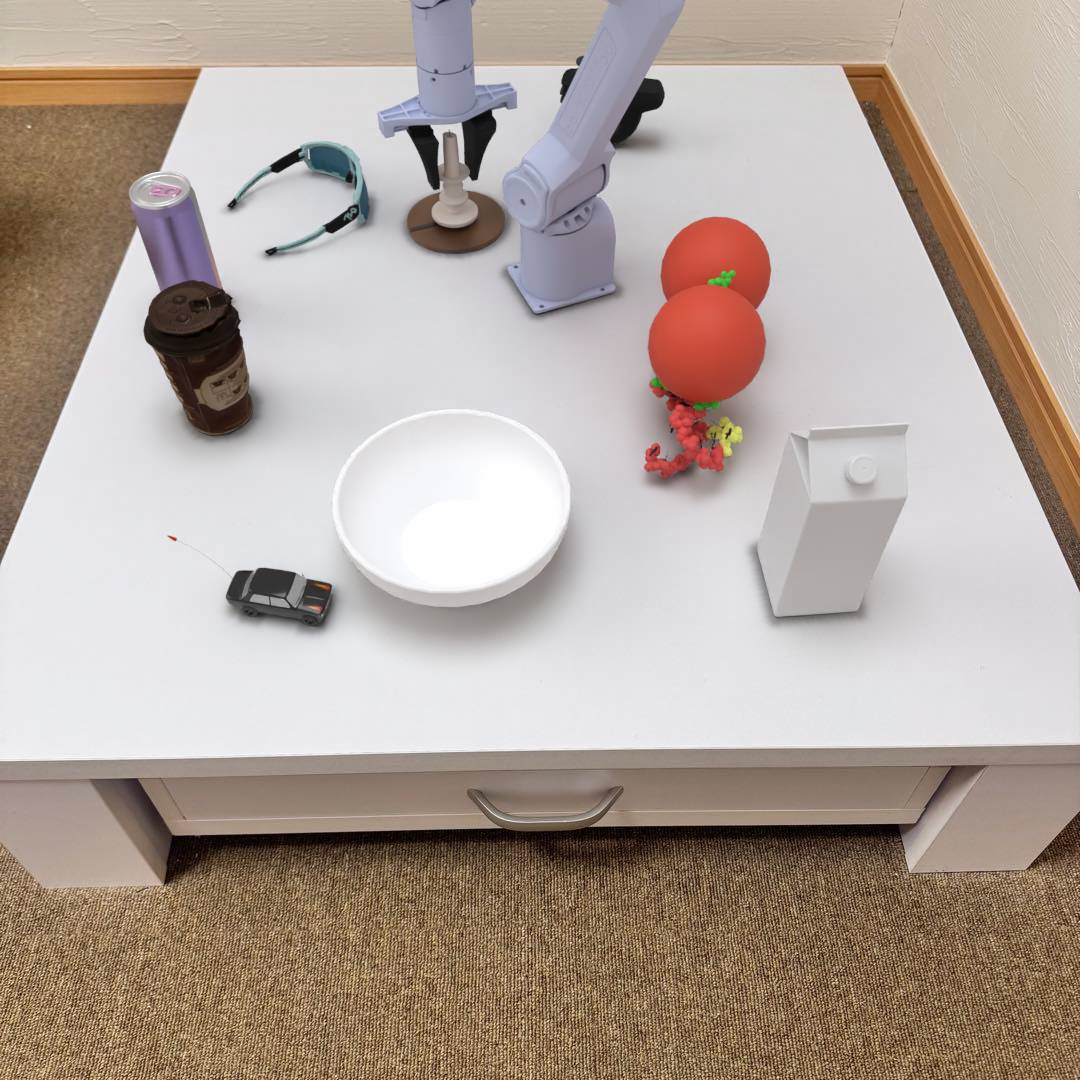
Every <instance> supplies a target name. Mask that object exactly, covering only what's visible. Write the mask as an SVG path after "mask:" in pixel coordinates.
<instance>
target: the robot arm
mask: <svg viewBox="0 0 1080 1080" xmlns="http://www.w3.org/2000/svg"><path fill="white" fill-rule="evenodd" d="M409 2H410V10H411V23H412V31H413V32H412V33H413V40H414V41H413V44H414V54H415V55H414V56H415V63H416V64H415V65H416V73H417V74H416V75H417V77H416V78H417V87H418V94H417V95H415V96H412V97H410V98H408V99H406V100H403V101H402V102H399V103H398V104H395V105H394V106H391V107H388V108H385V109H382V110H378V111H377V112H376V113H377V114H376V115H377V121H378V129H379V131H380V133H381V134H382V136H383V138H384V139H389V138H394V137H395V135H396V134H395V133H398V132H404V131H406V133H407V134H408V136H409V138H410V139H411V141H412V143H413V145H414V146H415V149H416V151H417V153H418V155H419V158H420V160H421V162H422V166H423V167H424V168H423V169H424V172H425V175H426V180H427V182H428V184H429V185H430V187H431V189H432V190H433V191H438V190H440V189H441V181H440V178H439V170H438V166H439V147H440V141H439V140H438V139H437V137H436V134H435V133H434V129H433V128H432V126H440V125H441V126H443V125H444V126H446V125H456V124H461V129H462V135H463V137H462V138H463V159H464V160H463V161H464V163H463V164H465V165H467V167H468V168H469V170H470V175H469V177H468V178H470V180H471V181H472V182H474V181H475V182H476V181H478V180H479V176H480V175H479V174H480V171H481V165H482V162H483V158H484V155H485V152H486V150H487V148H488V146H489V143H490V142H491V140H492V138H493V137H494V135H495V133H496V132H497V126H498V125H497V124H498V123H497V120H496V118H495V117H494V115H493V111H495V110H500V109H503V108H505V109H506V110H508V111H510V110H516V109H518V91H517V89H516V88H515V87H514V85H513V84H512V83H511V82H510V81H507V82H503V83H493V84H489V83H488V84H476V78H475V77H476V76H475V58H474V36H473V16H472V15H473V14H472V8H473V6H474V5H475V3H476V2H477V0H409ZM603 2H607V3H608V5H607V7H606V9H605V11H604V14H603V16H602V17H601V20H600V22H599V24H598V26H597V28H596V30H595V33H594V34H593V36H592V38H591V40H590V43H589V45H588V47H587V48H586V50H585V54H584V55H583V56H584V58H583V60H582V62H581V64H580V66H578V67H579V68H578V67H577V68H578V70H577V72H576V74H575V76H574V78H573V81H572V83H571V85H570V87H569V89H568V91H567V93H566V95H565V97H564V99H563V102H562V103H560V106H559V108H558V110H557V112H556V114H555V116H554V118H553V120H552V123H551V124H550V127H549V128H548V131H547V132H546V133H545V134H544V135H543V136H542V137H541V138H540V139H539V140H538V141H537V142H536V143H535V144H534V145H533V146H532V147H531V148H530V149H529V150H528V151H527V152H526V153H525V154H524V156H523V157H522V159H521V161H520V162H519V164H518V165H517V166H515V167H514V168H511V169H509V170H508V171H506V173H505V174H504V176H503V179H502V186H501V187H502V196H503V201H504V204H505V207H506V208H507V212H509V214H510V216H511V217H512V218H513V219H514V220H515V221H516V222H517V224H519V239H520V244H519V246H520V262H518V263H515V264H511V265H509V266H507V269H506V271H507V273H508V275H509V277H510V278H511V279H512V281H513V283H514V285H515V286H516V288H517V289H518V291H519V292H520V294H521V295H522V297H523V298H524V299H525V302H526V303H527V304H528V306H529V308H530V309H531V311H532V312H533V313H534V314H536V315H537V314H542V313H545V312H546V313H547V312H549V311H553V310H556V309H560V308H563V307H566V306H570V305H573V304H577V303H581V302H585V301H588V300H591V299H594V298H599V297H603V296H605V295H606V296H607V295H609V294H614V293H615V292H616V290H617V289H616V288H617V287H616V285H615V284H614V273H615V272H614V271H615V257H616V243H617V235H616V234H617V233H616V227H615V221H614V218H613V217H614V216H613V214H612V211H611V210H610V208H609V206H608V204H607V202H605V200H604V199H603V198H601V197H599V196H598V195H599V194H600V193H602V192H603V191H604V190H606V188H607V186H608V185H609V182H610V176H611V175H610V173H611V171H610V169H611V163H612V160H613V158H614V157H615V155H616V149H615V147H614V146H613V145H614V144H613V145H612V143H611V142H610V138H611V137H612V135H613V133H614V131H615V130H616V128H617V126H618V124H619V122H620V121H621V119H622V117H623V115H624V113H625V112H626V110H627V108H628V106H629V105H630V103H631V101H632V99H633V97H634V96H635V94H636V92H637V90H638V89H639V87H640V85H641V83H642V81H643V80H644V78H646V76H647V75H648V73H649V71H650V69H651V67H652V65H653V64H654V62H655V60H656V58H657V56H658V55H659V53H660V52H661V49H662V48H663V46H664V44H665V43H666V40H667V38H669V37H668V36H669V34H670V33H671V32H672V30H673V28H674V26H675V24H676V23H677V21H678V19H679V17H680V16H681V14H682V12H683V9H684V7H685V3H686V0H603Z"/></svg>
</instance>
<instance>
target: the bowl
mask: <svg viewBox="0 0 1080 1080" xmlns="http://www.w3.org/2000/svg"><path fill="white" fill-rule="evenodd" d="M568 474H569V473H568V471H567V468H566V467H565V464H564V463H563V461H562V459H561V457H560V456H559V454H558V453H557V451H556V450H554V448H553V447H552V446H551V445H550V443H549V442H548V441H547V440H546V439H545V438H544V437H542V436H540V435H539V434H538V433H537V432H535V431H534V430H532V429H531V428H530V427H529V426H526V425H524V424H522V423H520V422H518V421H517V420H514V419H512V418H510V417H506V416H502V415H500V414H497V413H493V412H489V411H483V410H477V409H472V408H470V409H469V408H445V409H438V410H430V411H429V410H428V411H425V412H421V413H418V414H414V415H411V416H406V417H404V418H402V419H399V420H397V421H395V422H393V423H390V424H388V425H386V426H384V427H383V428H381V429H379V430H378V431H377V432H375V433H374V434H372V435H370V436H369V437H367V438H366V439H365V440H364V441H363V442H362V443H361V444H360V445H359V446H358V447H357V448H356V449H355V450H353V451H352V453H351V454H350V456H349V457H348V458H347V460H346V461H345V462H344V464H343V466H341V469H340V471H339V473H338V476H337V478H336V481H335V483H334V486H333V492H332V499H331V510H332V521H333V524H334V526H335V530H336V532H337V536H338V538H339V541H340V543H341V546H342V549H343V550H344V551H345V553H346V555H347V556H348V557H349V558H350V560H351V562H352V564H353V565H354V566H355V567H356V568H357V570H358V571H359V572H360V573H361V574H362V575H363V576H364V577H365V578H367V580H368V581H370V582H371V583H372V584H373V585H374V586H376V587H378V588H380V589H381V590H383V591H385V592H386V593H387V594H390V595H391V596H393V597H396V598H399V599H402V600H404V601H407V602H410V603H412V604H419V605H423V606H429V607H434V608H461V607H467V606H475V605H482V604H484V603H488V602H490V601H494V600H497V599H499V598H503V597H505V596H507V595H509V594H511V593H513V592H515V591H517V590H518V589H520V588H522V587H524V586H526V584H527V583H529V582H530V581H532V580H533V579H534V578H535V577H537V576H538V575H539V574H540V573H541V572H542V571H543V570H544V569H545V567H547V565H548V564H549V563H550V562H551V560H552V559H553V557H555V556H554V555H555V554H556V552H557V550H558V548H559V546H560V545H561V543H562V540H563V539H564V537H565V534H566V532H567V528H568V524H569V520H570V515H571V511H572V485H571V482H570V478H569V475H568Z"/></svg>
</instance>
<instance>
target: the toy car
mask: <svg viewBox="0 0 1080 1080" xmlns="http://www.w3.org/2000/svg"><path fill="white" fill-rule="evenodd" d="M167 537H168V539H170V540H171V541H173V542H178V543H181V544H183V545H186V546H187V547H189V548H191V549H193V550H195V551H197V552H198V553H200V554H201V555H203V556H204V557H206V558H207V559H209V560H210V561H212V562H213V563H214V564H216V565H217V566H218V567H219V568H221V570H223V571H224V572H225V573H226V574H227V575H228V576H229V577H230V578H231V581H230V583H229V586H228V588H227V591H226V593H225V599H226V601H227V603H228V604H229V605H230V606H231V607H232V608H236V609H239V610H242V613H243V614H245V615H246V616H249V617H256V616H257V615H258V613H263V614H268V615H272V616H280V617H285V618H291V619H297V620H301V621H302V622H303V623H304V624H305V625H307V626H311V627H314V626H317V625H318V624H321V623H323V621H325V618H326V617H327V616H326V615H327V614H328V612H329V609H330V606H331V602H332V599H333V584H331V583H329V582H325V581H321V580H316V579H312V578H311V579H310V578H306V577H305V575H304V574H303V572H301V574H299V573H297V572H296V571H290V570H285V569H278V568H271V567H257V568H256V569H255V570H249V569H248V570H247V569H241V570H237V571H236V572H235V573H234V575H233V577H232V576H231V575H230V574H229V573H228V572H227V571H226V570H225V569H224V568H223V567H221V566H220V565H219V564H218V563H216V561H214V560H213V559H211V558H210V557H209V556H207V555H206V554H204V553H203V552H201V551H199V550H198V549H195V548H194V547H192V546H191V545H188V544H187V543H185V542H182V541H180V540H178V538H177V537H175V536H172V535H167Z"/></svg>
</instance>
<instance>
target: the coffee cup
mask: <svg viewBox="0 0 1080 1080" xmlns="http://www.w3.org/2000/svg"><path fill="white" fill-rule="evenodd" d="M233 299H234V298H233V297H232V295H230V294H228V293H226V291H225V290H224V288H223V289H220V288H217V287H215V286H213V285H210V284H208V283H206V282H204V281H197V280H188V281H184V282H181V283H178V284H175V285H172V286H170V287H168V288H166V289H164V290H163V291H159V292H158V293H157V294H156V295H155V296H154V297H153V299H151V302H150V304H149V306H148V312H147V316H146V317H145V320H144V325H143V330H142V331H143V337H144V340H145V342H146V344H148V346H150V347H151V348H152V349H153V351H154V353H155V355H156V356H157V358H158V360H159V363H160V365H161V367H162V369H163V371H164V373H165V377H166V378H167V379H168V380H169V384H170V387H171V388H172V390H173V392H174V393H175V396H176V398H177V399H178V401H179V402H180V403H181V405H182V409H183V412H184V414H185V415H186V418H187V420H188V421H189V423H190V425H192V426H193V427H194V428H195V430H197V431H199V432H201V433H203V434H207V435H211V436H212V435H213V436H214V435H215V436H216V435H222V434H227V433H231V432H233V431H235V430H237V429H239V428H240V427H242V426H243V425H244V424H245V423H246V422H248V421H249V419H250V418H251V415H252V413H253V410H254V403H253V398H252V395H251V394H250V393H249V389H250V373H249V370H248V365H247V358H246V354H245V352H246V351H245V348H244V339H243V336H242V335H241V329H240V328H239V325H240V324H241V322H242V319H240V314H239V311H238V310H237V308H236V307H235V306H234V305H233V304H232V302H233V301H232V300H233Z"/></svg>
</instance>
